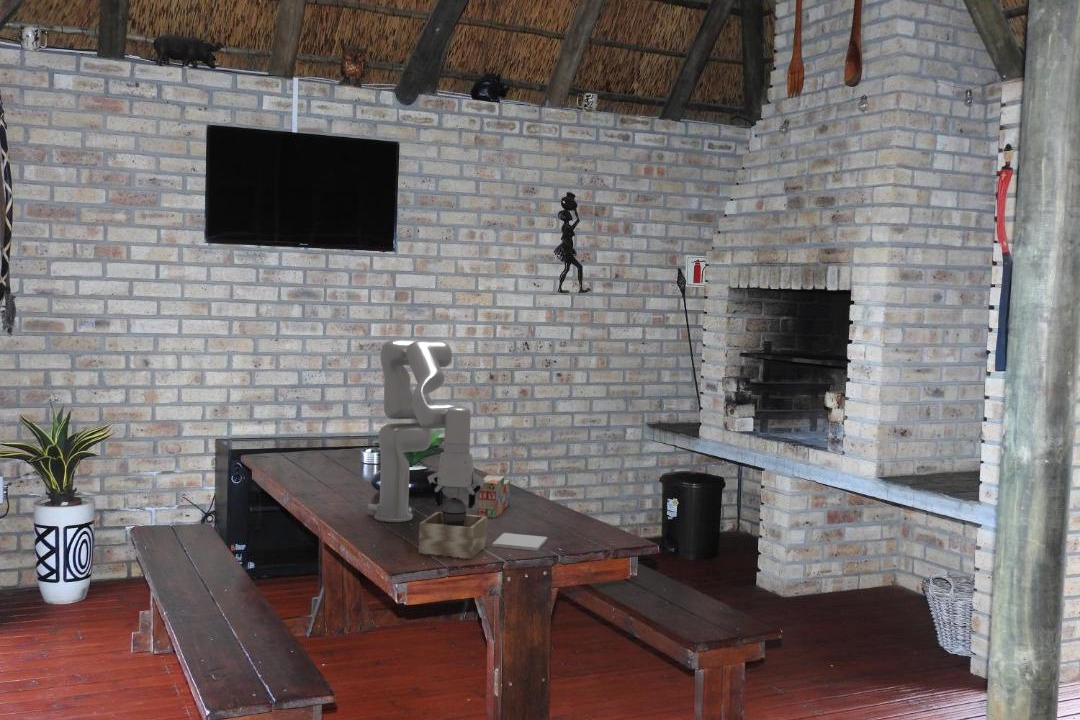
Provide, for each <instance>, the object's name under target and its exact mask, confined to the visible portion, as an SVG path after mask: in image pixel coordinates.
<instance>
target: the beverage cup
mask: <svg viewBox="0 0 1080 720" xmlns="http://www.w3.org/2000/svg"><path fill="white" fill-rule="evenodd" d="M460 489H461V488H457V492H456V497H451V498H449V499H447V500H446V501H445V502H444V503H443V506H442V511H441V512H443V518H444V525H452V526H463V527H464V519H465V516H466V515H467V506H466V504H465V502H464V501H463V500H462V499H461V498H459V494H460Z"/></svg>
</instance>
